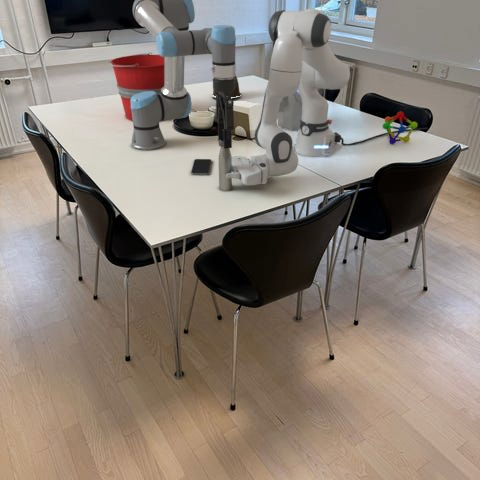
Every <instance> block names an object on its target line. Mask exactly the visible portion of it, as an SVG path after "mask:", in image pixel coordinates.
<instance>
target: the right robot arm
mask: <svg viewBox="0 0 480 480" xmlns="http://www.w3.org/2000/svg"><path fill="white" fill-rule="evenodd" d="M331 34H332V21H331V19H330V18H329V16H328V15H326V14H325V13H322V12H321V11H319V10H318V9H315V8H307V9H305V10H285V9H284V10H283V9H281V10H277V11H275V12H273V14H272V15H271V17H270V19H269V22H268V35H269V38H270V40H271V42H272V43H273V48H272V52H271V58H270V65H269V73H268V80H267V85H266V89H265V91H264V97H263V101H262V106H261V107H262V108H261V114H260V119H259V122H258V125H257V127H256V129H255V131H254V142H255V143H256V145H257V146H258V147H260V148H261V149H263V150H265V153H264V154H260V155H252V156H251V157H250V158H247V157H246V156H244V155H236V156H231V157H232V173H230V172H228V173H225V177H226V178H227V179H229V178H232V180H233V179H234V180H239V181H240V182H241V183H242V184H243V185H244V186H254V185H260V184H261V185H266V184H267V183H268V178H270V177H281V176H285V175H289V174H292V173H293V172H295V171H296V170H297V168H298V167H299V156H298V154H300V155H302V156H306V157H329V156H331V155H332V154H334V153H335V152H336V151H337V150H339V149H340V148H341V145H342V146H355V145H359V144H363V143H366V142H368V141H371V140H374V139H377V138H380V137H383V136H388V132H384V133H380V134H377V135H374V136H371V137H369V138H368V137H367V138H365V139H363V140H358V141H355V142H351V143H344V142H345V140H344V138H343V137H342V135H341V134H340V133H338V132H337V131H336V132H335V131H334V132H333V130H331V129H330V128H329V125H332V124H333V120H332V119H328V113H329V103H328V100H327V99H326V98H325V96H324V97H323V95H322V96H321V95H320V94H319V93H318V91H317V88H321V89H325V90H331V91H333V90H341V89H342V90H343V89H344V88H346V86H347V85H348V83H349V80H350V78H351V71H350V68H349V66H348V64H346V63H344V62H343V61H341V60H340V59H339V58H337V57H336V56H335V54H334V53H333V51H332V50H331V47H330V43H329V40H330V37H331ZM297 89H298V91H299V93H300V96H301V100H302V119H301V120H300V129H299V130H297V135H296V141H295V143H294V144H293V138H292V136H291V135H290V134H289V133H288V132H286V131H285V130H283V129H282V128H281V127H280V126H279V125H278V120H277V116H278V111H279V106H280V102H281V100H282V99H283V98H284V97H286V96H289V95H291V94H293V93H294V92H295V91H296V90H297ZM410 129H411V128H408V129H406V130H405V132H409V131H410ZM425 130H429V129H428V127H418V128H417V127H416V128H415V129H413V130H412V132H414V131H415V132H416V131H425ZM391 132H392V133H394V134H397V133H398V132H399V130H393V131H391ZM340 143H341V144H340ZM294 148H295V149H294Z"/></svg>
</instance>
